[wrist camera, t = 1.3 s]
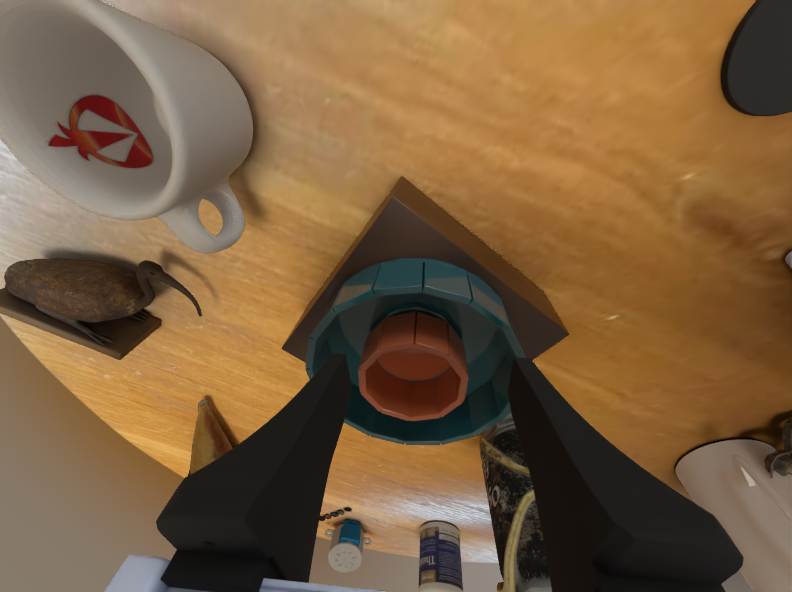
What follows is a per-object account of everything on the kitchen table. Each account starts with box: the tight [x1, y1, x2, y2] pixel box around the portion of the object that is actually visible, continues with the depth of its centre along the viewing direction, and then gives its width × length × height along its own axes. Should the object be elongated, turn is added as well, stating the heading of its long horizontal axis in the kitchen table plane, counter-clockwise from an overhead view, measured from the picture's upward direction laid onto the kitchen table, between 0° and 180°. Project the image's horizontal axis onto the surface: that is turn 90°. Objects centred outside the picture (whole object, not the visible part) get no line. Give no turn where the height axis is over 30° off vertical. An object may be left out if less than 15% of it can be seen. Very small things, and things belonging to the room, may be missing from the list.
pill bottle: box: [419, 522, 463, 592], centre depth 39 cm, size 5×5×10 cm
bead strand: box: [319, 508, 352, 521], centre depth 46 cm, size 20×1×1 cm
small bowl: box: [358, 312, 469, 421], centre depth 18 cm, size 6×6×3 cm
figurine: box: [0, 259, 202, 360], centre depth 23 cm, size 14×4×9 cm
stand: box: [282, 177, 569, 363], centre depth 22 cm, size 13×13×5 cm
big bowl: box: [305, 258, 526, 445], centre depth 18 cm, size 12×12×3 cm
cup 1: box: [0, 0, 253, 253], centre depth 16 cm, size 11×8×8 cm
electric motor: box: [325, 520, 371, 573], centre depth 44 cm, size 7×5×5 cm
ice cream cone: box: [188, 399, 233, 476], centre depth 35 cm, size 6×6×15 cm
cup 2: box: [675, 440, 792, 592], centre depth 25 cm, size 8×12×10 cm
